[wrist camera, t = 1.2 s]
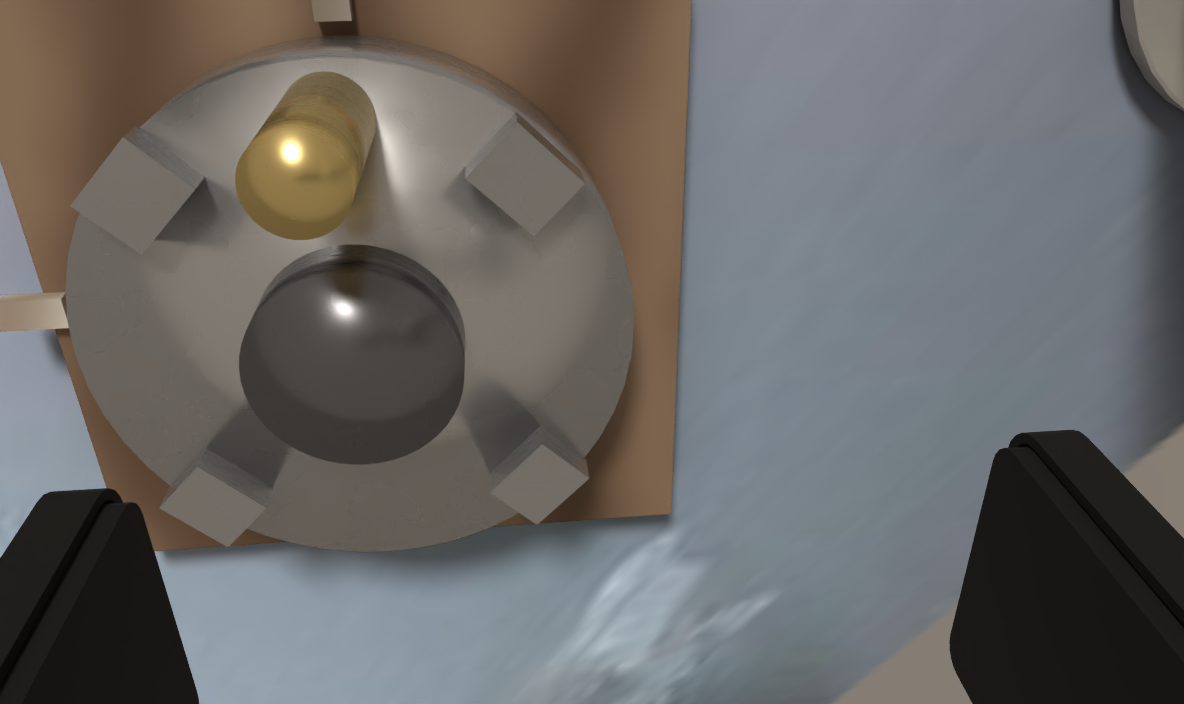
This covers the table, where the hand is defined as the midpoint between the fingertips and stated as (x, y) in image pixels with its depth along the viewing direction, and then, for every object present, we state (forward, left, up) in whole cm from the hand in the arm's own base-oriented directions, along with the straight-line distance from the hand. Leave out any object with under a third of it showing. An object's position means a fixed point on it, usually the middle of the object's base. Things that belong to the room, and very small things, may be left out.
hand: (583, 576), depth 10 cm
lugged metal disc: (+5, +7, -21) cm, 22 cm away
